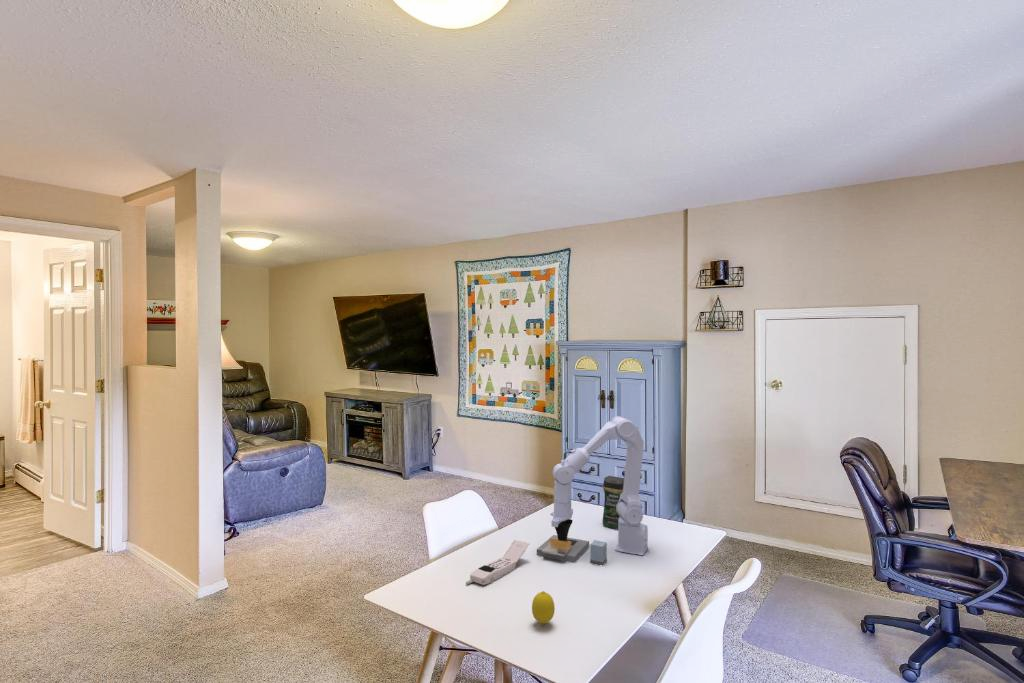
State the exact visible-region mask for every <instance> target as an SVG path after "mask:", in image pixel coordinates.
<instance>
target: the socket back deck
mask: <svg viewBox="0 0 1024 683" xmlns="http://www.w3.org/2000/svg"><path fill="white" fill-rule="evenodd" d="M548 544H550V543H547V542H546V541H544V542H543V543H542V544H541V545H540V546H539V547H537V548H536V556H537V555H538V557H542V556H543V557H542V558H547V557H548V558H549V559H552V558H553V560H558V561H562V562H567V561H568V563H572V564H574V563H577V561H578V560H579V559H580V558H581V557H582V555H583V554H582V549H580V548H574V547H572V549H571V550H570V551H569V552H568V553H567V554H566V555H565V556H559V555H554V554H549V553H544V552H542V550H543V549H544V548H545V547H546V546H547V545H548ZM580 556H581V557H580ZM579 557H580V558H579Z"/></svg>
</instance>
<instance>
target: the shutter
mask: <svg viewBox="0 0 1024 683" xmlns="http://www.w3.org/2000/svg"><path fill="white" fill-rule="evenodd" d="M571 549H572V542H571V541H566V540H560V539H554V538H551V539H550V544H548V545H547V546H546V547H545V548H544V549H543V550H542V552H544V553H549V554H554V555H559V556H565V555H566V554H567V553H568V552H569V551H570V550H571Z"/></svg>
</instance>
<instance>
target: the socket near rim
mask: <svg viewBox="0 0 1024 683" xmlns="http://www.w3.org/2000/svg"><path fill="white" fill-rule="evenodd" d="M572 547H574V548H580V549H582V555H583V554H584V553H585V552H586V551H587V550H588V549H589V548H588V543H586V542H581V541H577V542H576V543H575V544H574V545H573V546H572Z"/></svg>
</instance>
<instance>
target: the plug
mask: <svg viewBox="0 0 1024 683" xmlns="http://www.w3.org/2000/svg"><path fill="white" fill-rule="evenodd" d="M607 545H608V543H607V542H606V541H600V540H595V539H594V540H593V541H592V542H591V543H589V548H590V553H589V554H590V556H589V557H590V559H589V564H590V563H592V565H595V564H597V565H596V566H600V565H602V566H601V567H604V565H605V564H606V563H607V561H608V558H607V555H608V554H607V552H608V551H607V550H608V549H607ZM605 562H606V563H605ZM604 563H605V564H604Z"/></svg>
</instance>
